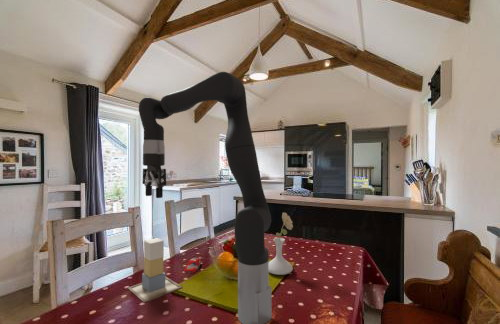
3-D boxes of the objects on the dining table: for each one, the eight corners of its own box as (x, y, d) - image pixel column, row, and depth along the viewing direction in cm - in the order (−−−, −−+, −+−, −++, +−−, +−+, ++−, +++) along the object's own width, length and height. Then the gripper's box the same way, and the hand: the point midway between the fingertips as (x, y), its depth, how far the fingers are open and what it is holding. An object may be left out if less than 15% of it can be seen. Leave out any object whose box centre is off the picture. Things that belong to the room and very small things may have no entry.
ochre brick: (163, 273, 92) (163, 256, 93) (149, 277, 89) (149, 260, 89) (157, 269, 96) (157, 253, 96) (143, 273, 92) (143, 257, 92)
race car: (195, 276, 104) (195, 267, 104) (182, 276, 104) (182, 266, 104) (202, 264, 117) (202, 255, 117) (190, 263, 117) (190, 255, 117)
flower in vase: (279, 280, 100) (279, 217, 100) (260, 271, 108) (260, 212, 109) (300, 271, 108) (300, 213, 108) (281, 263, 117) (281, 209, 117)
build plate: (182, 290, 92) (182, 286, 92) (144, 305, 82) (144, 301, 82) (163, 278, 102) (163, 275, 102) (127, 291, 91) (127, 287, 91)
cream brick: (163, 256, 93) (163, 240, 93) (150, 260, 89) (150, 243, 89) (157, 253, 96) (157, 237, 96) (144, 257, 92) (144, 240, 92)
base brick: (165, 286, 92) (165, 273, 92) (149, 292, 88) (149, 278, 88) (157, 281, 97) (157, 268, 97) (142, 287, 92) (142, 273, 92)
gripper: (135, 153, 95) (135, 196, 95) (152, 151, 85) (152, 199, 85) (154, 153, 101) (154, 194, 100) (172, 152, 91) (172, 197, 91)
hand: (153, 196), depth 93 cm, fingers open, 8 cm apart
